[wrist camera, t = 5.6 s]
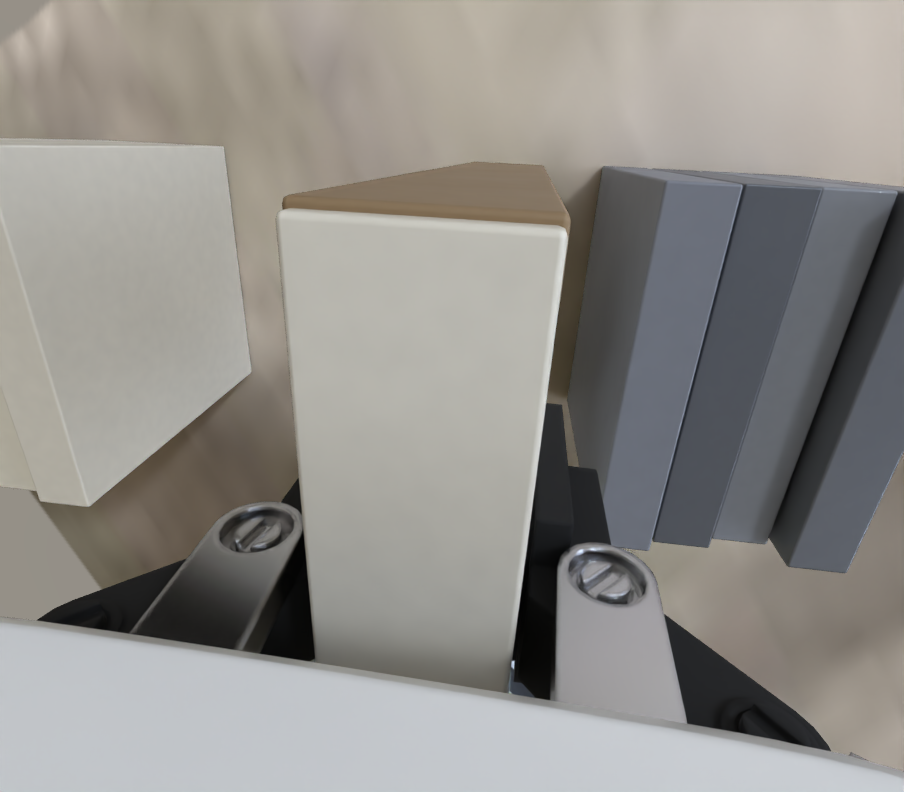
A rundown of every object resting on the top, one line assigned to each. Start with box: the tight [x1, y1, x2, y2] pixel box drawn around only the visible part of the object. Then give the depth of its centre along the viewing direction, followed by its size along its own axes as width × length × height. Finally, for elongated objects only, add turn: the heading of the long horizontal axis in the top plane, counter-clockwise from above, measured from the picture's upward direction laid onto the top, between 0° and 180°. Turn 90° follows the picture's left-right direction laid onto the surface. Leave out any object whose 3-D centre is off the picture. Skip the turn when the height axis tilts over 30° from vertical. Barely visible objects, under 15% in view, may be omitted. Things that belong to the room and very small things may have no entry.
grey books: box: [567, 166, 904, 573], centre depth 20 cm, size 8×11×11 cm
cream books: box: [0, 138, 252, 507], centre depth 21 cm, size 8×11×12 cm
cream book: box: [276, 162, 571, 693], centre depth 14 cm, size 2×11×16 cm, turn 178°
